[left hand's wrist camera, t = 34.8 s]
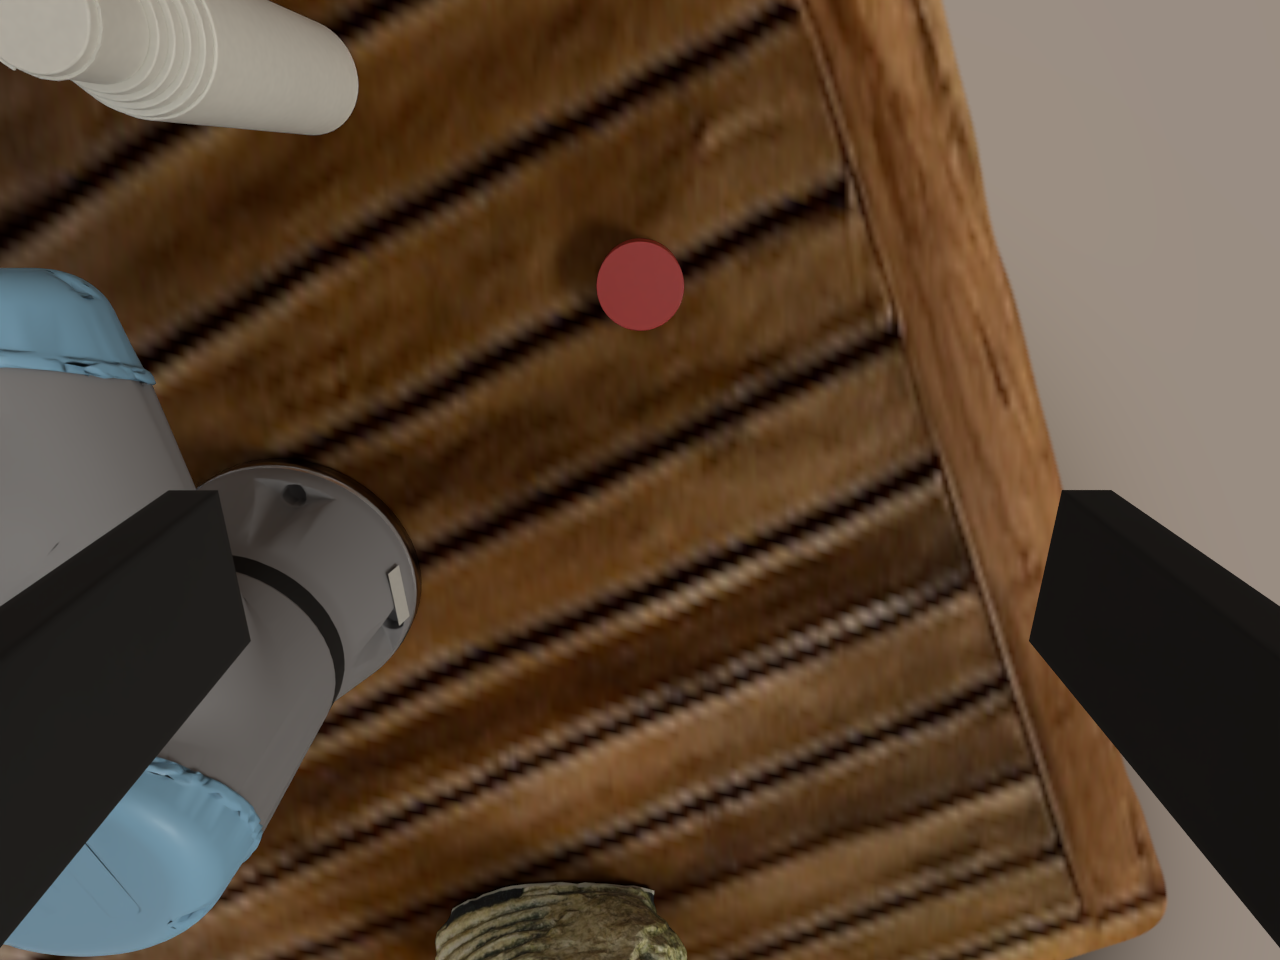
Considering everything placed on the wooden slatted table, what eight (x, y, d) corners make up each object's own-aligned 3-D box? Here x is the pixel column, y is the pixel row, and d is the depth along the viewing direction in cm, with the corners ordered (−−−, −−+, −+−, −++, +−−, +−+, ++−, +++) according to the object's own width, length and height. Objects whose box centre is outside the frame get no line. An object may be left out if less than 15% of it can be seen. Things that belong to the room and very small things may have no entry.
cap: (583, 300, 43) (581, 305, 41) (621, 222, 41) (620, 224, 39) (657, 338, 43) (658, 345, 42) (697, 263, 42) (699, 267, 40)
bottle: (283, -7, 37) (-38, -162, 20) (378, 67, 38) (155, -17, 21) (234, 89, 39) (-103, 26, 21) (327, 157, 40) (79, 150, 22)
